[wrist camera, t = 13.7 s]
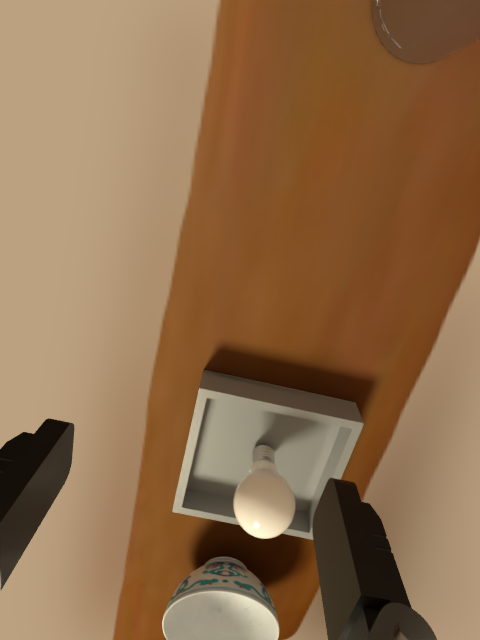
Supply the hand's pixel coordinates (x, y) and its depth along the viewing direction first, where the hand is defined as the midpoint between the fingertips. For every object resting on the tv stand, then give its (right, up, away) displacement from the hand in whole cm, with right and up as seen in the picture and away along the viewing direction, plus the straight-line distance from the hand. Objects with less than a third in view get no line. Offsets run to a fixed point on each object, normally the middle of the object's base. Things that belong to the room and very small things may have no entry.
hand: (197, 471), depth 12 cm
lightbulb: (+4, -11, +36) cm, 38 cm away
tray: (+4, -11, +37) cm, 39 cm away
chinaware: (-1, -32, +46) cm, 56 cm away
